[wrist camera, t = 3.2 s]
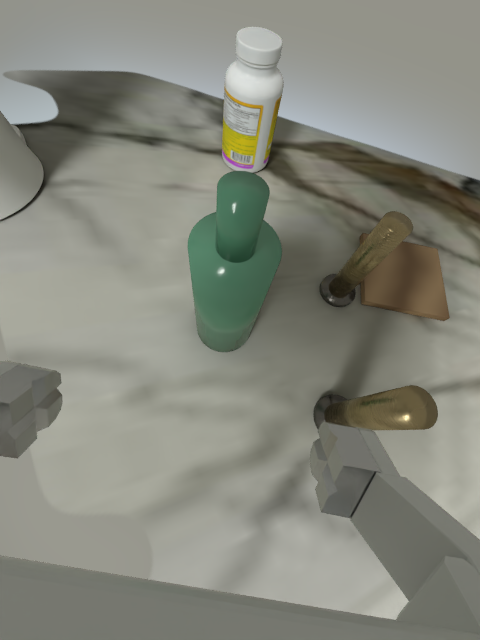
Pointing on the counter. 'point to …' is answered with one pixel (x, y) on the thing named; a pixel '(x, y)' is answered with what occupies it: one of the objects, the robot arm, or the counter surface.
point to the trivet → (407, 282)
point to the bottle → (232, 261)
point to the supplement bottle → (251, 99)
